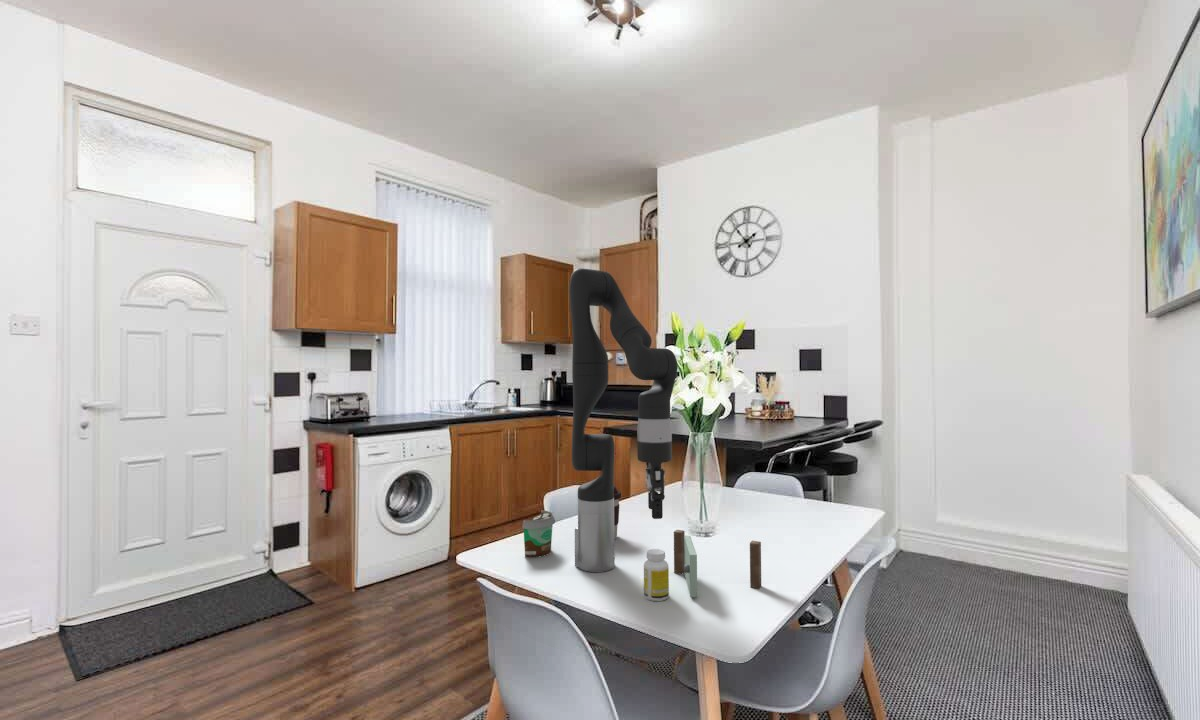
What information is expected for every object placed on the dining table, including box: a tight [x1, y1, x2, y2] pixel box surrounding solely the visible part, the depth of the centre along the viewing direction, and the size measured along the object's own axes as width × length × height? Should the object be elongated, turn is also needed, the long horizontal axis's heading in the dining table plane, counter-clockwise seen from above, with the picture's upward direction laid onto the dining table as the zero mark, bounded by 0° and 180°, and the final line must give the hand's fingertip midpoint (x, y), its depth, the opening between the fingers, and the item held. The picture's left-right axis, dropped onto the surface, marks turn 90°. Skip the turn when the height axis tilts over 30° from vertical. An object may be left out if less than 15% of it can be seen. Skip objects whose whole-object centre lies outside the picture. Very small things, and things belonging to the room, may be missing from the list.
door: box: [683, 535, 698, 598], centre depth 126 cm, size 14×3×9 cm, turn 176°
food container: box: [522, 509, 556, 558], centre depth 150 cm, size 12×6×10 cm, turn 161°
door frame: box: [673, 529, 762, 590], centre depth 130 cm, size 20×2×10 cm, turn 60°
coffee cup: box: [614, 485, 622, 540], centre depth 164 cm, size 10×10×15 cm
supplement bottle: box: [643, 548, 670, 602], centre depth 120 cm, size 5×5×10 cm
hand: (655, 513), depth 121 cm, fingers open, 8 cm apart
